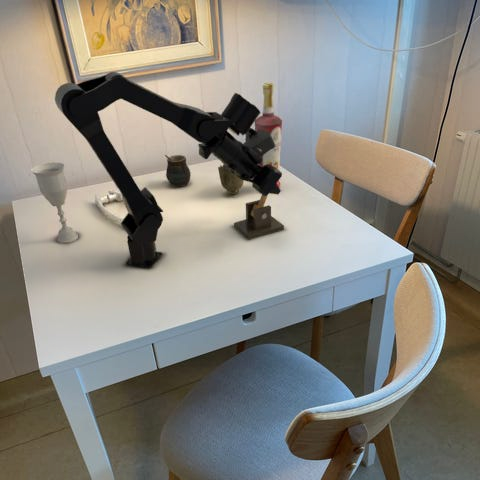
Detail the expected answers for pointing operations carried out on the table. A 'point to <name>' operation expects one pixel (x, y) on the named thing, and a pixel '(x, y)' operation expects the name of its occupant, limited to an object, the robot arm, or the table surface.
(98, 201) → the door handle
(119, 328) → the table surface
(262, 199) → the lever
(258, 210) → the bracket
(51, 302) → the table surface
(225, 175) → the cup
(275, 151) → the liquor
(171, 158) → the mate gourd
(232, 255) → the table surface
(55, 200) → the chalice
